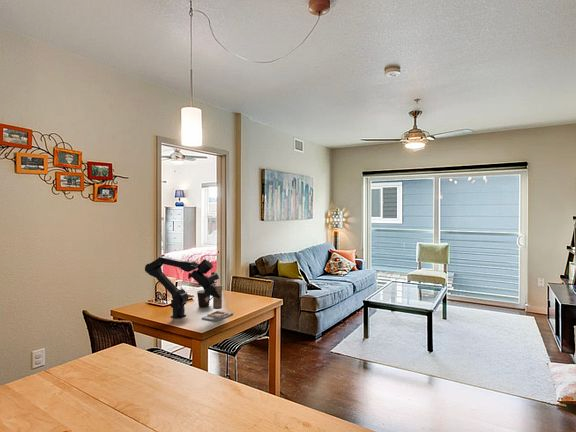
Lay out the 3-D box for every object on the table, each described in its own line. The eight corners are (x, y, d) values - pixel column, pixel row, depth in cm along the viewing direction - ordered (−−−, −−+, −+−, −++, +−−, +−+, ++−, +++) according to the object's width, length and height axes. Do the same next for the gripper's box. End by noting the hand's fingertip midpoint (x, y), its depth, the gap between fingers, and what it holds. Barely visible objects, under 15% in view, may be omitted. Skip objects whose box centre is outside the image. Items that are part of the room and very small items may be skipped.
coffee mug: (198, 309, 221) (198, 293, 221) (196, 305, 229) (196, 290, 229) (216, 307, 226) (216, 291, 226) (214, 304, 234) (214, 289, 234)
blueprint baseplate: (216, 321, 195) (216, 318, 195) (201, 319, 200) (201, 315, 200) (233, 314, 210) (233, 311, 209) (218, 312, 214) (218, 308, 214)
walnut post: (218, 309, 201) (218, 287, 201) (211, 308, 204) (211, 286, 203) (223, 307, 206) (223, 285, 206) (216, 306, 208) (216, 284, 208)
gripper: (210, 271, 195) (230, 290, 197) (211, 266, 213) (229, 283, 215) (195, 285, 193) (216, 304, 195) (197, 279, 211) (216, 296, 214)
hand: (219, 296), depth 205 cm, fingers closed on walnut post, 5 cm apart
